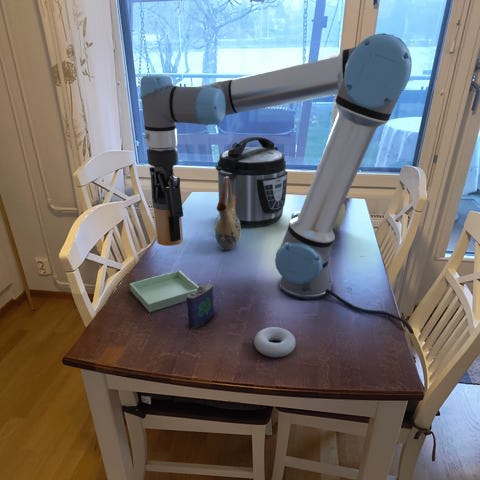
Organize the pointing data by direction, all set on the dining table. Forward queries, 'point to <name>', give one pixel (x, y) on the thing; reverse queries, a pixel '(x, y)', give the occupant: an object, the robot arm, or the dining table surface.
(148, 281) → the serving tray
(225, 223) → the ceramic vessel
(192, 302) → the flask
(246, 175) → the pressure cooker
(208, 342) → the dining table surface
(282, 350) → the donut
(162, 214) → the jar
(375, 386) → the dining table surface
